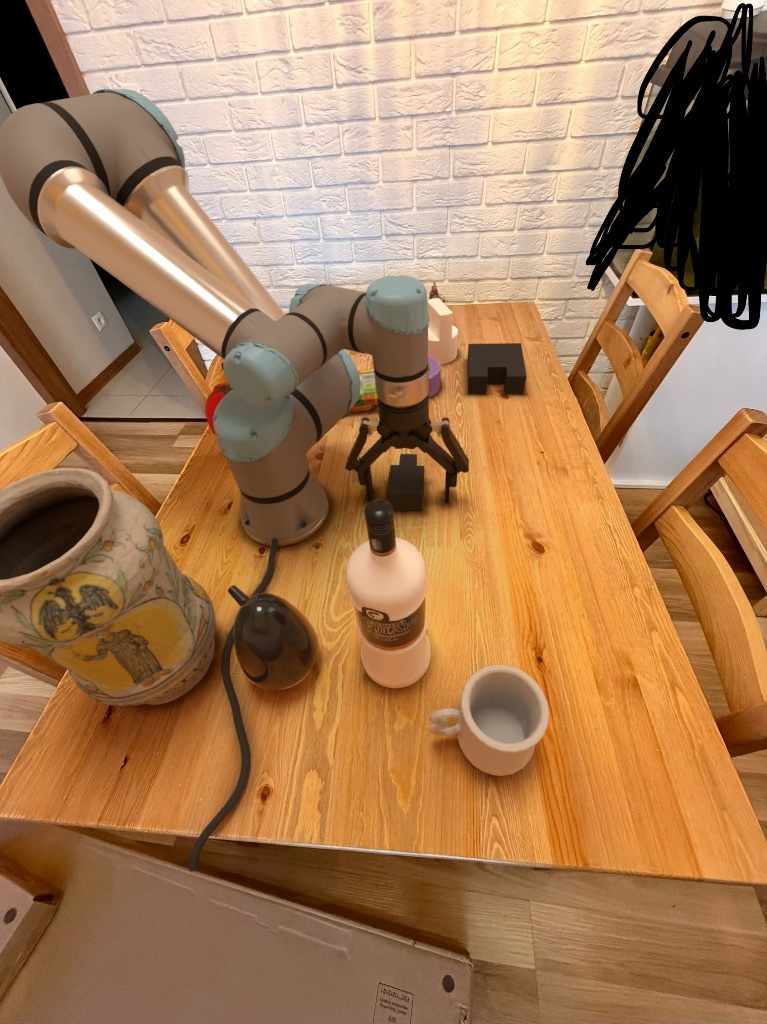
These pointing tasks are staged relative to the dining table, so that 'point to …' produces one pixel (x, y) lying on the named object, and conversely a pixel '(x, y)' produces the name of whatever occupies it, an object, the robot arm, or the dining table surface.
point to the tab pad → (406, 484)
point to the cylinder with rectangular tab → (441, 332)
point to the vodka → (389, 601)
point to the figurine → (435, 293)
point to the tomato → (215, 402)
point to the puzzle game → (366, 391)
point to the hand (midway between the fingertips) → (408, 497)
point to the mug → (497, 719)
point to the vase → (99, 590)
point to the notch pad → (496, 367)
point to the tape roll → (433, 376)
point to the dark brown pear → (272, 640)
